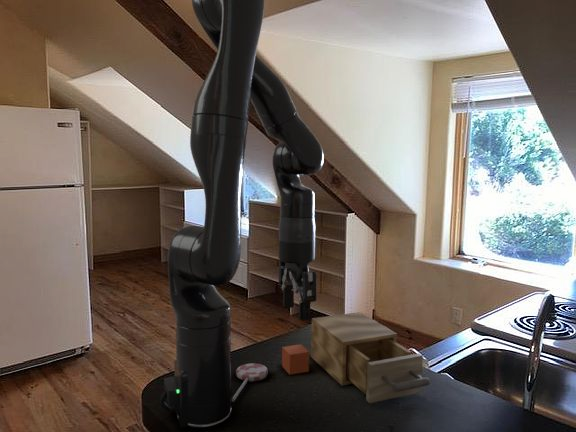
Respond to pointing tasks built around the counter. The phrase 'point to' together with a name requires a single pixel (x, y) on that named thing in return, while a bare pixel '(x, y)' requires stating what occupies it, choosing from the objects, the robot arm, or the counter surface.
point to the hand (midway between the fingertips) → (296, 313)
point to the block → (295, 359)
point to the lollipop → (250, 374)
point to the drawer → (384, 369)
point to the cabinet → (343, 340)
